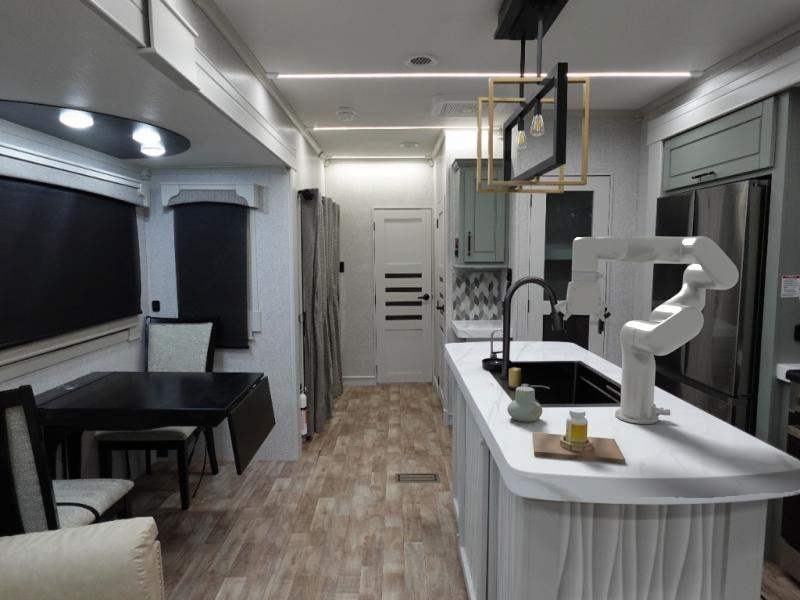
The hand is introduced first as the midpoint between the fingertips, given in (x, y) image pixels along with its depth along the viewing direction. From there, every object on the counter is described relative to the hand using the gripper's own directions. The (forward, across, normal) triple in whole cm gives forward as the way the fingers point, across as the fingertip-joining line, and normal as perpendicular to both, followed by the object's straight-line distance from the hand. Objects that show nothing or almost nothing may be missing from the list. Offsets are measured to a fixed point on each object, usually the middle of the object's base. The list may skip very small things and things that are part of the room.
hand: (583, 333), depth 150 cm
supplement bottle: (+27, +4, +23) cm, 36 cm away
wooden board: (+28, +4, +23) cm, 37 cm away
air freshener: (+29, +17, +1) cm, 33 cm away
